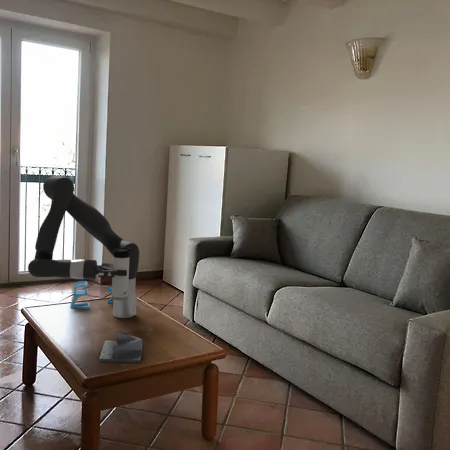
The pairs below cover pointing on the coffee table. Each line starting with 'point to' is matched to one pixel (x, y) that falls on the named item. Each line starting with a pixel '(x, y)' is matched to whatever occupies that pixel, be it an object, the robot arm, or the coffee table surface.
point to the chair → (79, 293)
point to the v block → (122, 349)
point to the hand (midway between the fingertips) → (127, 271)
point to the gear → (111, 293)
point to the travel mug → (120, 281)
